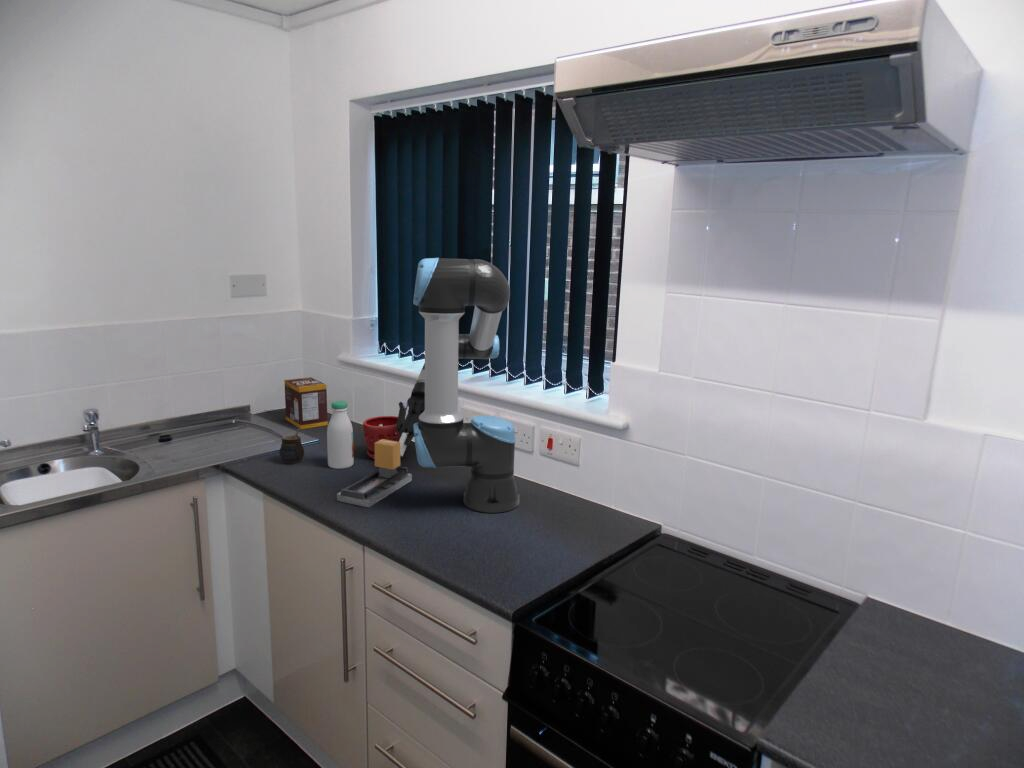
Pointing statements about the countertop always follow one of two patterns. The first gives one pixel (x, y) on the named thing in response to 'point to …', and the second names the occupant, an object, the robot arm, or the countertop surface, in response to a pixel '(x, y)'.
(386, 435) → the plant pot
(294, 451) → the mate gourd
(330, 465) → the milk bottle
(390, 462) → the fader knob
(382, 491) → the fader strip
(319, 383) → the supplement box
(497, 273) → the robot arm
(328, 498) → the countertop surface
